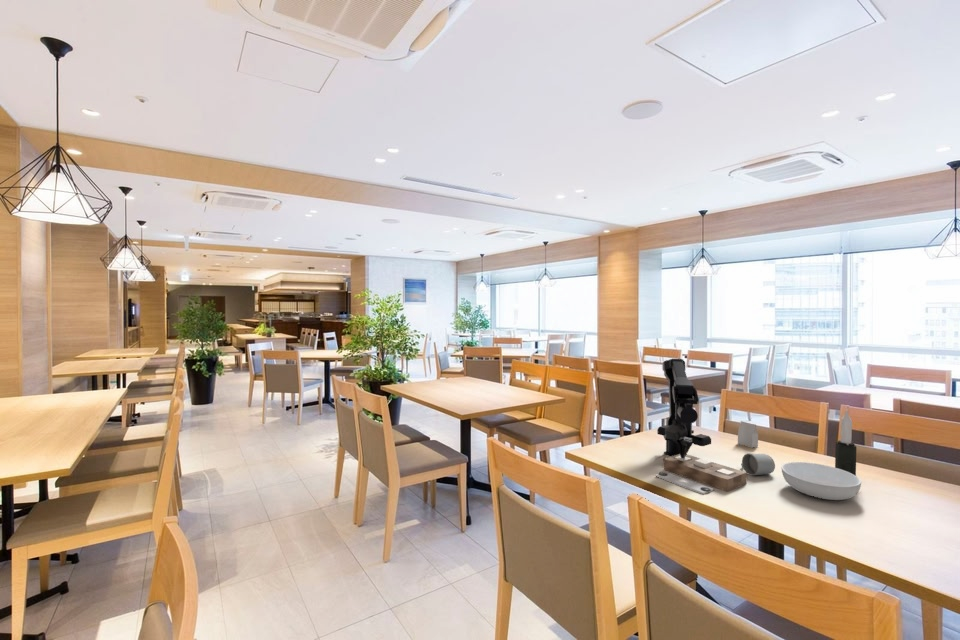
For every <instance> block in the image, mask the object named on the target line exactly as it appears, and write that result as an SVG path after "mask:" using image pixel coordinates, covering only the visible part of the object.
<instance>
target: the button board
mask: <svg viewBox="0 0 960 640" xmlns="http://www.w3.org/2000/svg"><path fill="white" fill-rule="evenodd" d="M678 456H680V454H678V455H675V456H671V455H670V456H668V457H665V458H663V470H664V469H665V470H664V471H667V470H668V471H667V472H670V471H671V472H670V473H672V474H675V475H678V476H681V475H682V476H681V477H683V478H684V477H685V478H686V479H689V480H690V479H691V480H693V481H695V482H696V481H697V482H699V483H700V484H703V485H706V486H709V487H712V488H713V487H714V488H715V489H719V490H722V491H725V492H730V491H732V490H735V489H738V488H740V487H742V486H745V485H746V484H747V474H748V473H747V472H746V471H745V470H744V471H743V470H739V469H737V468H734V467H730V466H727V465H723V464H720V463H717V462H714V461H711V462H712V467H710V468H707V469H705V468H702V467H699V466H696V465H695V460H698V459H702V458H700V457H697V456H694V455H690V454H688V453H687V454H686V456H685V457H688V458H691V460H690V461H687V462H683V461H680V460H677V459H675V457H678ZM720 469H726V470H730V471H733V472H735V473H734V474H733V475H730V476H727V475H724V474H721V473H718V472H717V470H720Z"/></svg>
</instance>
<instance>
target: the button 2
mask: <svg viewBox="0 0 960 640" xmlns="http://www.w3.org/2000/svg"><path fill="white" fill-rule="evenodd" d="M717 472H718V473H721V474H724V475H727V476H730V475H733V474H734V473H735V472H733V471H730V470H726V469H720V470H717Z"/></svg>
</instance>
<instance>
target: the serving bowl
mask: <svg viewBox="0 0 960 640" xmlns="http://www.w3.org/2000/svg"><path fill="white" fill-rule="evenodd" d="M781 473H782V476H783V479H784V480H785V482H786V483H787V484H788V485H789V486H791V488H793V489H794V490H796V491H797V492H800V493H802V494H805V495H807V496H811V497H813V496H814V498H817V497H818V499H821V498H822V500H830V501H833V500H834V501H841V500H848V499H851V498H853V497H855V496H856V495H857V494H858V493H859V491H860V489H861V486H862V479H861V478H860V477H858V476H857V475H856V476H855V475H854V474H852V473H849V472H847V471H844V470H841V469H838V468H835V466H832V465H831V466H830V465H825V464H820V463H813V462H805V461H792V462H786V463H783V464H781Z"/></svg>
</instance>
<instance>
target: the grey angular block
mask: <svg viewBox="0 0 960 640" xmlns="http://www.w3.org/2000/svg"><path fill="white" fill-rule="evenodd" d="M737 444H738V445H740V446H744V445H745V446H744V447H747V446H749V447H748V448H750V447H751V449H754V448H753V447H755V448H758V447H759V432H758V428H757V424H756V423H751V422H747V421H743V420H741V421H740V423H739V426H738V430H737Z"/></svg>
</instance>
